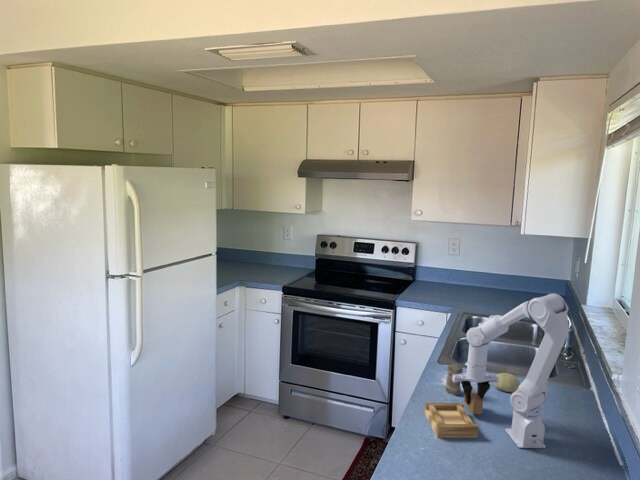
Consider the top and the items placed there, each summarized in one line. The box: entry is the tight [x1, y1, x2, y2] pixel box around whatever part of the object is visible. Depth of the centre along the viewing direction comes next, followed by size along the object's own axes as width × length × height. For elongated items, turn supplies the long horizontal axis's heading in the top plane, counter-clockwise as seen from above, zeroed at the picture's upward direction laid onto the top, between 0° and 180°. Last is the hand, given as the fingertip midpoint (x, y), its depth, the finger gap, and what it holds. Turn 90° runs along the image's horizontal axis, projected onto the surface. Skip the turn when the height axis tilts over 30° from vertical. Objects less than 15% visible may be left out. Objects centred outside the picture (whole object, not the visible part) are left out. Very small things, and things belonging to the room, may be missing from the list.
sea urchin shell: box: [492, 372, 521, 393], centre depth 179 cm, size 9×8×8 cm
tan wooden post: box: [463, 388, 484, 415], centre depth 160 cm, size 8×3×4 cm, turn 4°
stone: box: [445, 362, 464, 396], centre depth 173 cm, size 3×6×10 cm, turn 43°
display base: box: [423, 402, 479, 439], centre depth 152 cm, size 14×12×4 cm
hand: (473, 402), depth 160 cm, fingers closed on tan wooden post, 3 cm apart
